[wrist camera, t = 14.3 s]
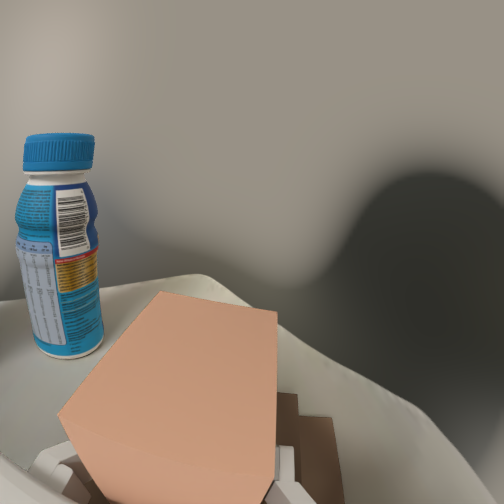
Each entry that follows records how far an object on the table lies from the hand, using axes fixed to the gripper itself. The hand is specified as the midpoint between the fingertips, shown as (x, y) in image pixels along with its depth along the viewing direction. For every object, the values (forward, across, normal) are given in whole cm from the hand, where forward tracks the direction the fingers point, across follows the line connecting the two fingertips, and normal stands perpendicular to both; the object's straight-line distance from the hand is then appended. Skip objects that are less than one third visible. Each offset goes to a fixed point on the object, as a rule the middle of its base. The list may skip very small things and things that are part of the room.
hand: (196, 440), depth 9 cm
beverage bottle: (+13, +17, +9) cm, 23 cm away
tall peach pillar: (-1, 0, +7) cm, 7 cm away
